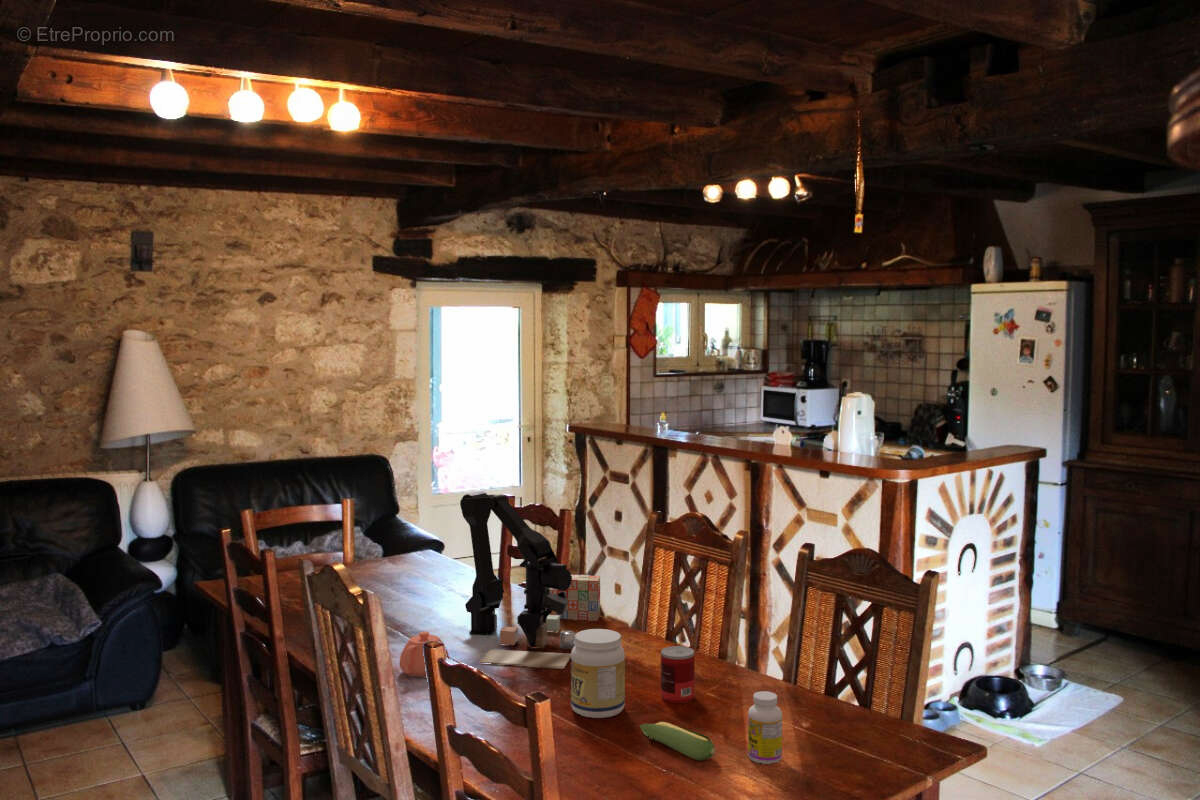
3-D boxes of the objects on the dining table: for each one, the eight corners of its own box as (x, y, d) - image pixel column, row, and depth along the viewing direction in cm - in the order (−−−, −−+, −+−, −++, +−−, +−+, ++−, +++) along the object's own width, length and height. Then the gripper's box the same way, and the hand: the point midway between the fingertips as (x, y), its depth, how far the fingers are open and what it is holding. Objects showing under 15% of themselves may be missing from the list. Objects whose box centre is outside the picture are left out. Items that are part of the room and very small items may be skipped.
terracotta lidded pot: (459, 668, 248) (458, 628, 247) (426, 686, 235) (426, 644, 234) (418, 661, 253) (418, 623, 252) (385, 679, 240) (384, 638, 239)
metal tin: (558, 649, 262) (558, 634, 262) (561, 644, 266) (561, 630, 266) (573, 650, 262) (573, 635, 262) (576, 645, 266) (576, 630, 265)
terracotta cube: (500, 645, 266) (500, 630, 266) (504, 640, 270) (503, 626, 270) (514, 646, 266) (514, 631, 265) (518, 641, 269) (518, 627, 269)
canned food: (697, 693, 230) (697, 647, 229) (689, 705, 222) (689, 658, 221) (666, 689, 232) (666, 644, 231) (656, 701, 225) (656, 654, 224)
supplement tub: (562, 704, 223) (562, 630, 222) (611, 696, 228) (611, 624, 227) (583, 723, 212) (583, 646, 211) (634, 714, 217) (634, 639, 216)
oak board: (479, 664, 251) (479, 661, 251) (490, 651, 260) (490, 649, 260) (563, 668, 247) (563, 666, 247) (571, 656, 257) (571, 653, 257)
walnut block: (526, 648, 264) (526, 626, 263) (530, 642, 268) (530, 621, 268) (543, 648, 263) (543, 626, 263) (546, 643, 267) (546, 622, 267)
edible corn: (704, 768, 191) (704, 745, 190) (633, 736, 206) (633, 715, 205) (722, 760, 194) (722, 738, 194) (651, 730, 209) (651, 709, 209)
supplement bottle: (744, 752, 197) (744, 689, 197) (776, 750, 198) (777, 688, 197) (752, 766, 191) (752, 702, 190) (785, 765, 191) (786, 700, 190)
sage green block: (543, 632, 277) (543, 618, 277) (546, 628, 281) (546, 614, 281) (557, 633, 277) (557, 619, 277) (560, 629, 281) (559, 615, 280)
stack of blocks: (526, 619, 291) (526, 578, 290) (530, 613, 297) (530, 573, 296) (598, 621, 288) (598, 580, 288) (600, 615, 295) (600, 574, 294)
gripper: (558, 595, 254) (558, 654, 255) (572, 577, 272) (572, 632, 273) (516, 593, 256) (517, 651, 257) (533, 576, 274) (533, 630, 275)
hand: (536, 641), depth 265 cm, fingers open, 9 cm apart
